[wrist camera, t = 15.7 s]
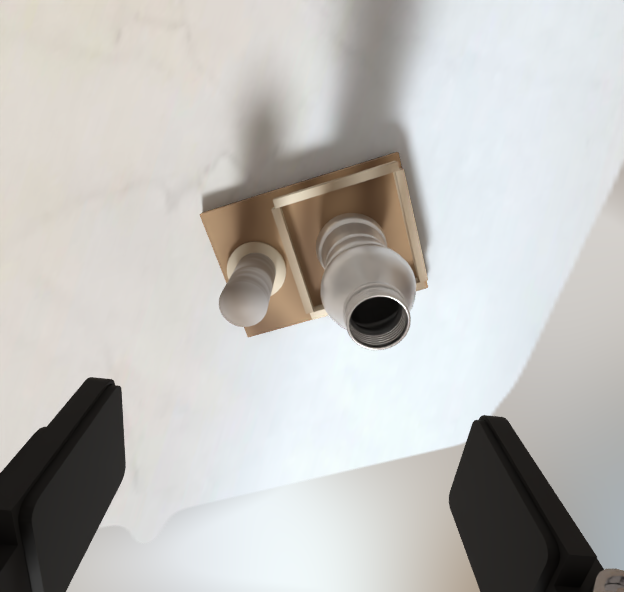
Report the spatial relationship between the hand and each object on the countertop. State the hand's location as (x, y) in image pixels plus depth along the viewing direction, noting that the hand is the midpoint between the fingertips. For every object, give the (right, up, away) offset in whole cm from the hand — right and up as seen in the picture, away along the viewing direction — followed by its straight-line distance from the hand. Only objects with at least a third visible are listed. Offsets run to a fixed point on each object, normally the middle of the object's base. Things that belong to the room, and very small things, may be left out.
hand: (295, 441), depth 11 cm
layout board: (+1, +9, +34) cm, 35 cm away
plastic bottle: (+4, +9, +32) cm, 34 cm away
